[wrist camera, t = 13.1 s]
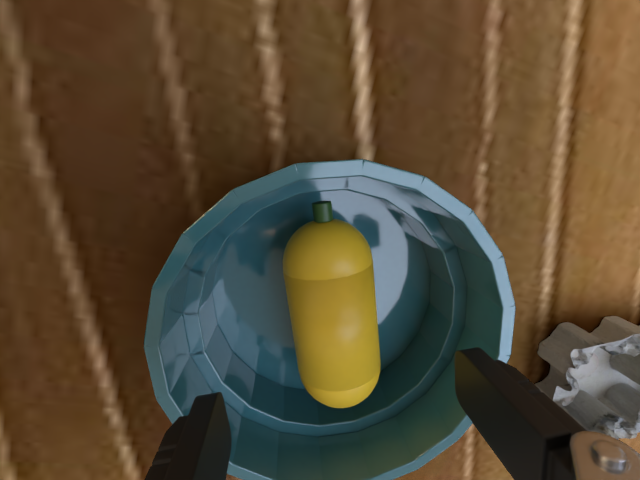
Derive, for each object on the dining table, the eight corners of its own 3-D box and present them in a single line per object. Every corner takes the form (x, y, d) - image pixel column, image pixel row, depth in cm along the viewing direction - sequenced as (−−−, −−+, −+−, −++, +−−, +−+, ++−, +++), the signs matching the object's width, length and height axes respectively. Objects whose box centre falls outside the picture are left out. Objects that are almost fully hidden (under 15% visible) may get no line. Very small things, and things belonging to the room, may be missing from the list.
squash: (368, 363, 19) (396, 418, 15) (299, 377, 19) (308, 438, 15) (353, 191, 17) (381, 199, 12) (272, 202, 16) (273, 214, 12)
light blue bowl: (259, 432, 20) (248, 539, 15) (142, 225, 16) (62, 258, 11) (471, 346, 20) (543, 418, 15) (403, 118, 16) (465, 93, 11)
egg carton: (523, 409, 22) (574, 462, 18) (539, 314, 20) (598, 350, 16) (657, 396, 23) (734, 444, 19) (683, 304, 21) (773, 336, 17)
